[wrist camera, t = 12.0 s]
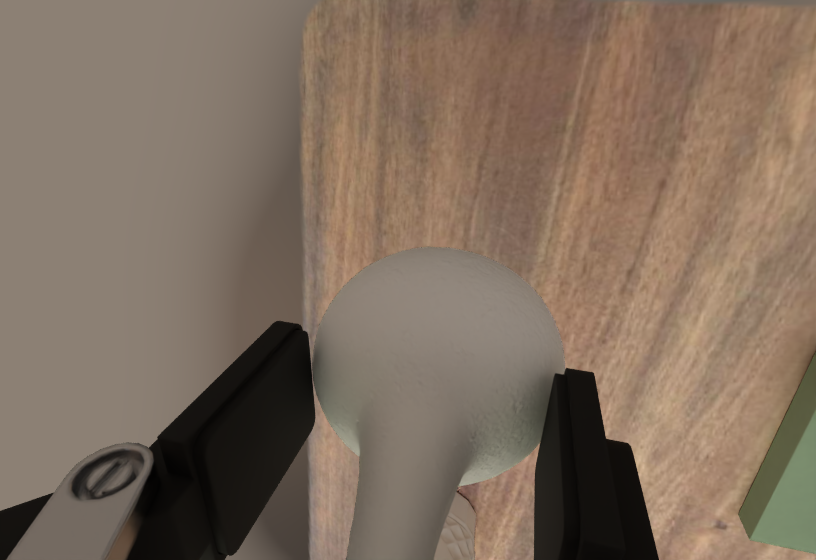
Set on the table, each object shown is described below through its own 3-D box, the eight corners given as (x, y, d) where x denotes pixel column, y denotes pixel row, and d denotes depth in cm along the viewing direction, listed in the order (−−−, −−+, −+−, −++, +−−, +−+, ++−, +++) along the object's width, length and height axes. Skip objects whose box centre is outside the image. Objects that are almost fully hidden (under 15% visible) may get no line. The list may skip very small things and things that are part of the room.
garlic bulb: (441, 179, 11) (275, 370, 4) (615, 344, 12) (722, 748, 5) (308, 323, 14) (83, 574, 7) (452, 449, 15) (375, 791, 8)
